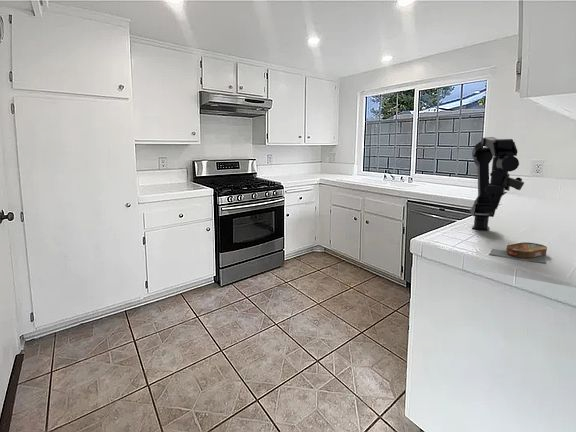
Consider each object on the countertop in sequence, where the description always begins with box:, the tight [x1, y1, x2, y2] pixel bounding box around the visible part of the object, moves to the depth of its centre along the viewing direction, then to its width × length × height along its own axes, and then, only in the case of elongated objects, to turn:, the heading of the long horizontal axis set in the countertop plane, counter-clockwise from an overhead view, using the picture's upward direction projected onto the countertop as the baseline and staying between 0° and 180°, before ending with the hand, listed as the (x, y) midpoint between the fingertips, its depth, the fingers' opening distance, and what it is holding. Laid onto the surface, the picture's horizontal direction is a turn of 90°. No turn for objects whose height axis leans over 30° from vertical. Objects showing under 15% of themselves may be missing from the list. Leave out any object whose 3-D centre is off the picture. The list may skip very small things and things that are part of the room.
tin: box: [505, 241, 548, 258], centre depth 116 cm, size 15×3×8 cm
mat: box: [489, 248, 546, 264], centre depth 115 cm, size 8×16×1 cm, turn 52°
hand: (495, 208), depth 134 cm, fingers closed
